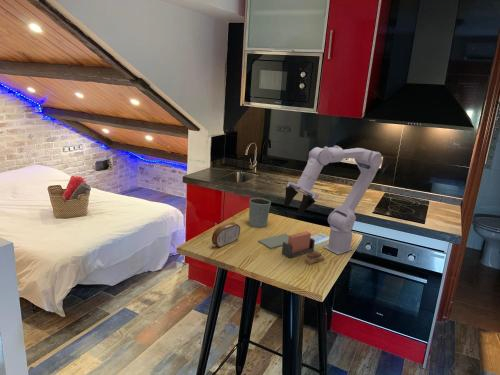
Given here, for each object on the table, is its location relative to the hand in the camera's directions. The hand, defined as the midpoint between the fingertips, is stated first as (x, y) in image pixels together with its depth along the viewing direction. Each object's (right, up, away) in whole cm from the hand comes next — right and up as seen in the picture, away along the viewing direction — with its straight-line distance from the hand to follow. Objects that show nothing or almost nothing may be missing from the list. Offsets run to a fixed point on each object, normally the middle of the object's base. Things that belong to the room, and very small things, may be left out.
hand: (292, 209), depth 139 cm
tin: (-26, -15, +15) cm, 33 cm away
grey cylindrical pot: (-12, -10, +39) cm, 42 cm away
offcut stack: (+9, -21, +5) cm, 23 cm away
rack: (+4, -18, +12) cm, 22 cm away
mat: (-4, -15, +21) cm, 26 cm away
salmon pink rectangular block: (+4, -18, +12) cm, 22 cm away
